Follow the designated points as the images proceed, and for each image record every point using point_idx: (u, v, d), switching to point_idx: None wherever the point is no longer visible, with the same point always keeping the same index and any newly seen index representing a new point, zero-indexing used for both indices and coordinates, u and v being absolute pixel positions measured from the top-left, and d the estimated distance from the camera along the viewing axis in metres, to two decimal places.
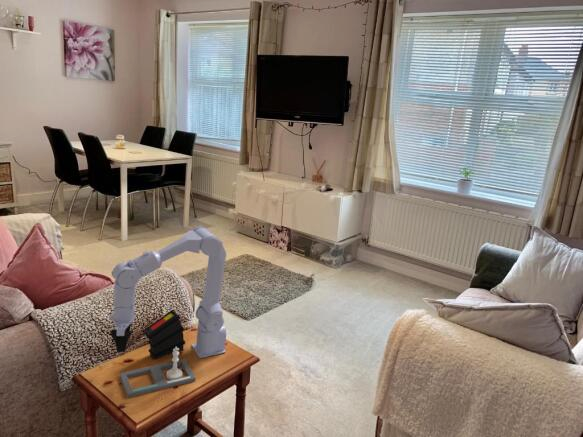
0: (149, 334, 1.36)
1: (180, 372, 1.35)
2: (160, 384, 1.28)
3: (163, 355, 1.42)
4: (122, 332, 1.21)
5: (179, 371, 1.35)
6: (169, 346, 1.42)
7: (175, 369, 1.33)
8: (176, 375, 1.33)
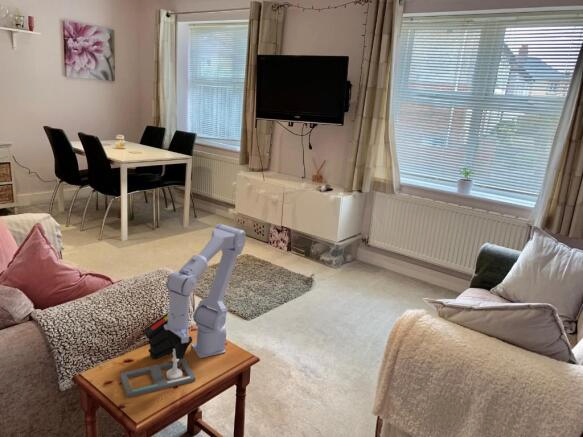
0: (149, 334, 1.36)
1: (180, 372, 1.35)
2: (160, 384, 1.28)
3: (163, 355, 1.42)
4: (187, 339, 1.24)
5: (179, 371, 1.35)
6: (169, 346, 1.42)
7: (175, 369, 1.33)
8: (176, 375, 1.33)
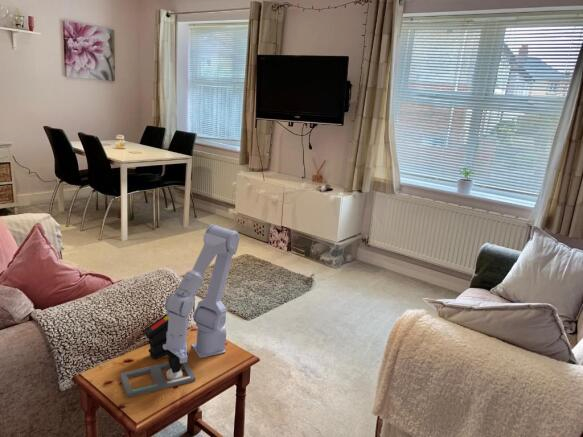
0: (149, 334, 1.36)
1: (180, 372, 1.35)
2: (160, 384, 1.28)
3: (163, 355, 1.42)
4: (185, 359, 1.26)
5: (179, 371, 1.35)
6: None
7: None
8: (176, 375, 1.33)
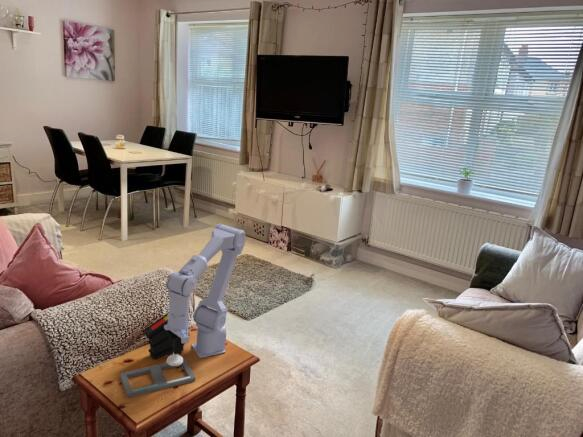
0: (149, 334, 1.36)
1: (181, 358, 1.33)
2: (160, 384, 1.28)
3: (163, 355, 1.42)
4: (187, 339, 1.24)
5: (180, 357, 1.33)
6: (169, 346, 1.42)
7: (176, 355, 1.32)
8: (176, 361, 1.31)
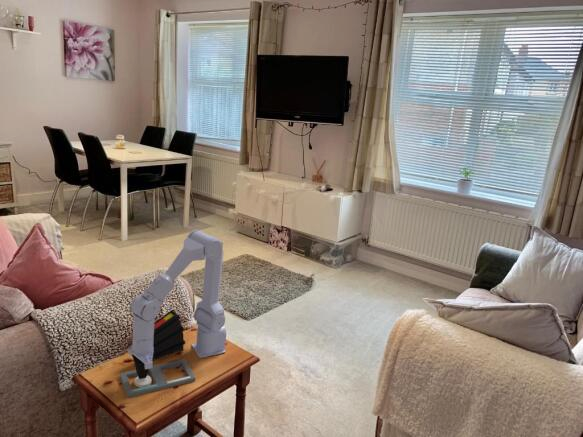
0: None
1: (149, 380, 1.29)
2: (160, 384, 1.28)
3: (163, 355, 1.42)
4: (151, 364, 1.21)
5: (148, 378, 1.30)
6: (169, 346, 1.42)
7: None
8: (144, 382, 1.28)
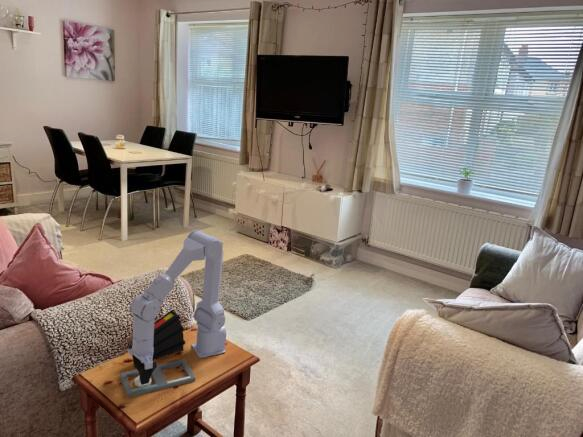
0: None
1: None
2: (160, 384, 1.28)
3: (163, 355, 1.42)
4: (151, 365, 1.21)
5: None
6: (169, 346, 1.42)
7: None
8: None
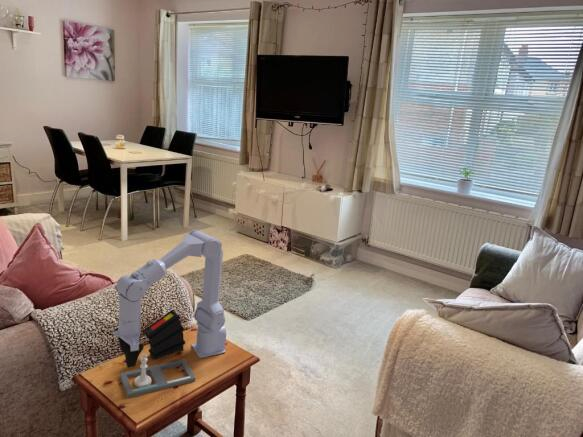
0: (149, 334, 1.36)
1: (149, 380, 1.29)
2: (160, 384, 1.28)
3: (163, 355, 1.42)
4: (137, 346, 1.16)
5: (148, 378, 1.30)
6: (169, 346, 1.42)
7: (143, 376, 1.28)
8: (144, 382, 1.28)
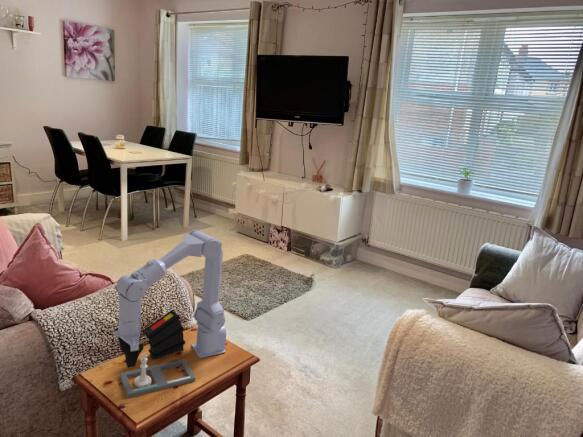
0: (149, 334, 1.36)
1: (149, 380, 1.29)
2: (160, 384, 1.28)
3: (163, 355, 1.42)
4: (137, 346, 1.16)
5: (148, 378, 1.30)
6: (169, 346, 1.42)
7: (143, 376, 1.28)
8: (144, 382, 1.28)
